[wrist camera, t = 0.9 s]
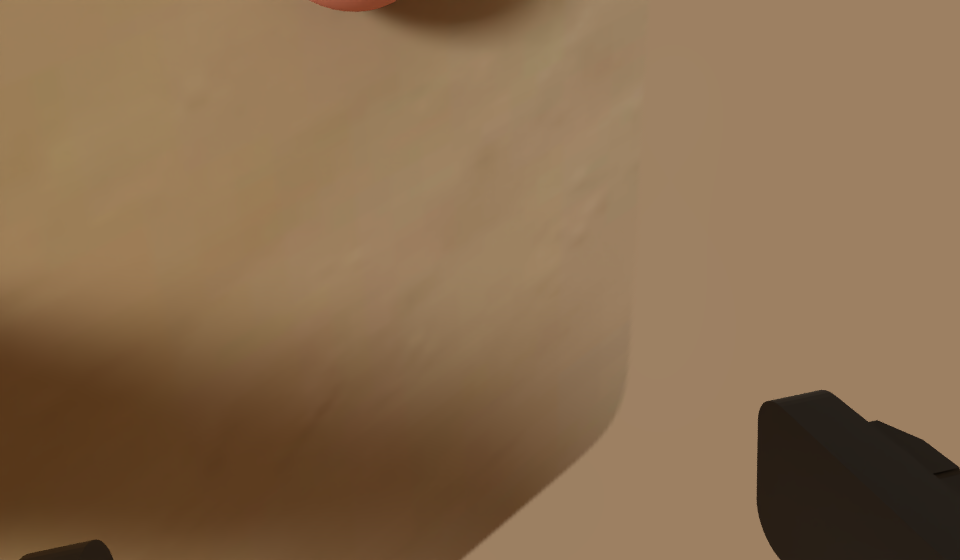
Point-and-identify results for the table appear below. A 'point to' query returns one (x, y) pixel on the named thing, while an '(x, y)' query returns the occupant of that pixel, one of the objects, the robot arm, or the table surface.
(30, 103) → the table surface
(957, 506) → the robot arm
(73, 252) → the table surface
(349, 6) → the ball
